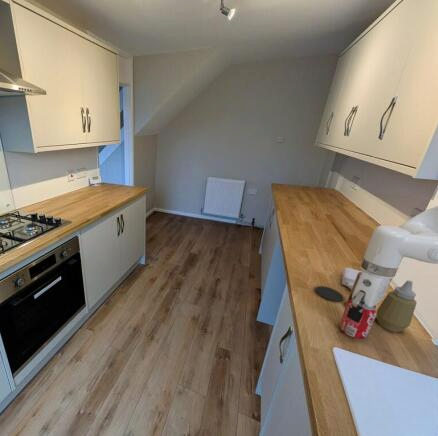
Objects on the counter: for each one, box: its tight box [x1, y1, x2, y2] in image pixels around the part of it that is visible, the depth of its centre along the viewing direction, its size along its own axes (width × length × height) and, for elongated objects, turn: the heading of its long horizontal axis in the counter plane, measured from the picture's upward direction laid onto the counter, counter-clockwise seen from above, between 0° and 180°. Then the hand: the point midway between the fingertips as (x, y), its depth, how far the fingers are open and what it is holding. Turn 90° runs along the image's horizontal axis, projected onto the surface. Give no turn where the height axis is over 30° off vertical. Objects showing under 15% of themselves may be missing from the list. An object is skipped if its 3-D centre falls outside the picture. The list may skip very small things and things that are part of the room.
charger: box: [341, 267, 363, 291], centre depth 100 cm, size 5×9×15 cm
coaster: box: [315, 286, 344, 303], centre depth 96 cm, size 9×9×1 cm
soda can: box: [339, 298, 377, 340], centre depth 76 cm, size 7×7×12 cm
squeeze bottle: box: [376, 279, 417, 333], centre depth 78 cm, size 8×8×18 cm
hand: (358, 314), depth 75 cm, fingers closed on soda can, 7 cm apart
